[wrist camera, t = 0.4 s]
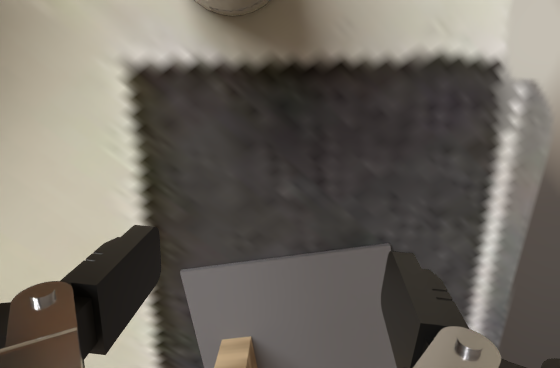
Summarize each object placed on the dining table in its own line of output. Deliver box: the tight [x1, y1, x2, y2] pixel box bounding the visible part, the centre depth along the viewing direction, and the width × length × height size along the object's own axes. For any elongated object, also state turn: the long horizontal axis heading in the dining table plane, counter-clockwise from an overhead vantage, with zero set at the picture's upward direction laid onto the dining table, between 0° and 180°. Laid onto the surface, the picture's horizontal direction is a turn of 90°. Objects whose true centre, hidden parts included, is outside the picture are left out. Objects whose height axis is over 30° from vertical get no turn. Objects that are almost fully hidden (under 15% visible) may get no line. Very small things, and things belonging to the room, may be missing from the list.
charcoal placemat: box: [180, 243, 397, 368], centre depth 37 cm, size 22×20×1 cm
